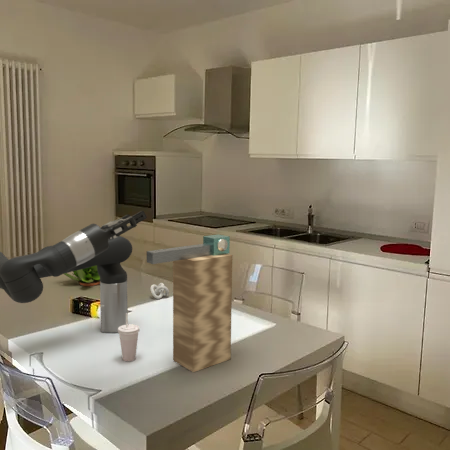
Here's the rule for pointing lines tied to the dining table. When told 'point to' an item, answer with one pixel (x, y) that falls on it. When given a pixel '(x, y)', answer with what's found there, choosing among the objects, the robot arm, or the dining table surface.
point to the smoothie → (128, 340)
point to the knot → (159, 291)
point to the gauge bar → (191, 250)
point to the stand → (202, 311)
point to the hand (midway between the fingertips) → (137, 215)
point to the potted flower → (86, 276)
